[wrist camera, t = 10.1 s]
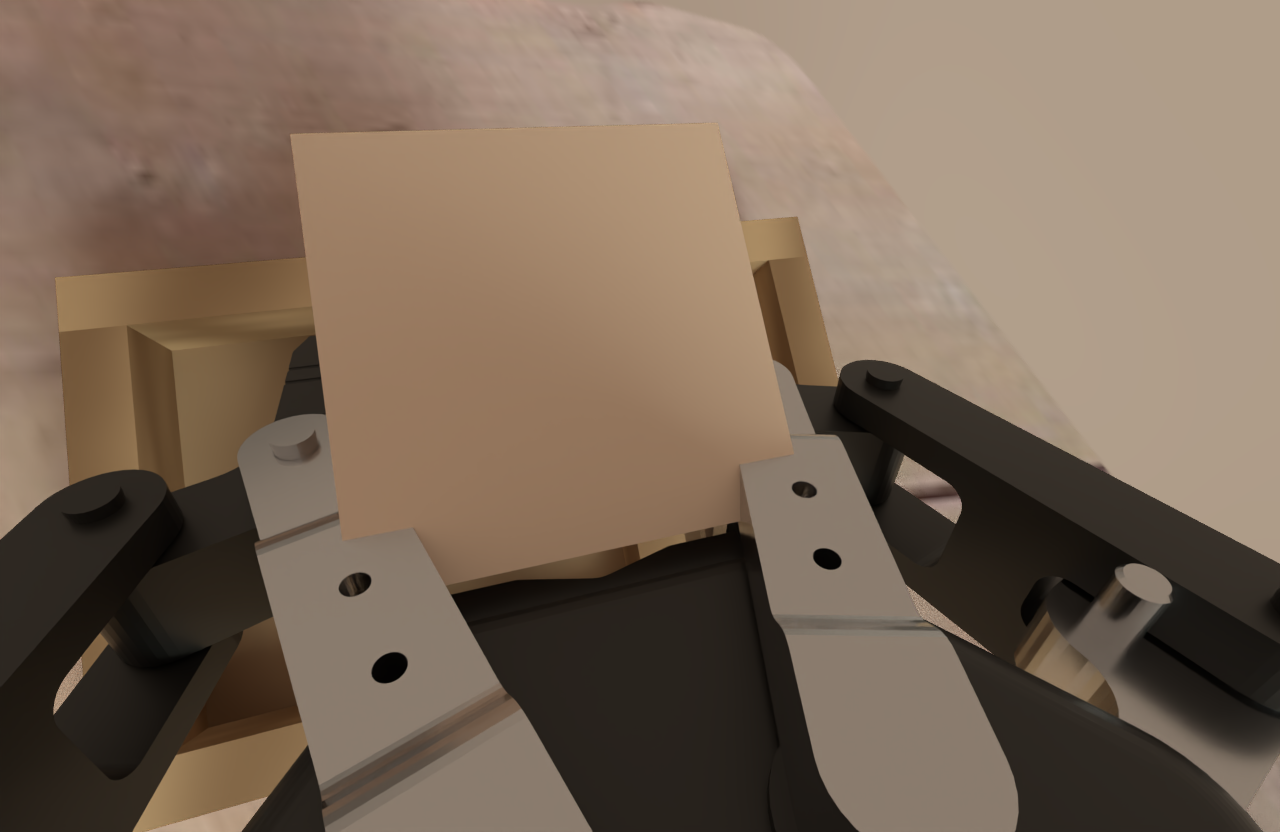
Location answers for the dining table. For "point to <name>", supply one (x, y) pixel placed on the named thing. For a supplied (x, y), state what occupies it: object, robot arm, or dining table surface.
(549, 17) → the dining table surface
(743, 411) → the block
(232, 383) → the rack
